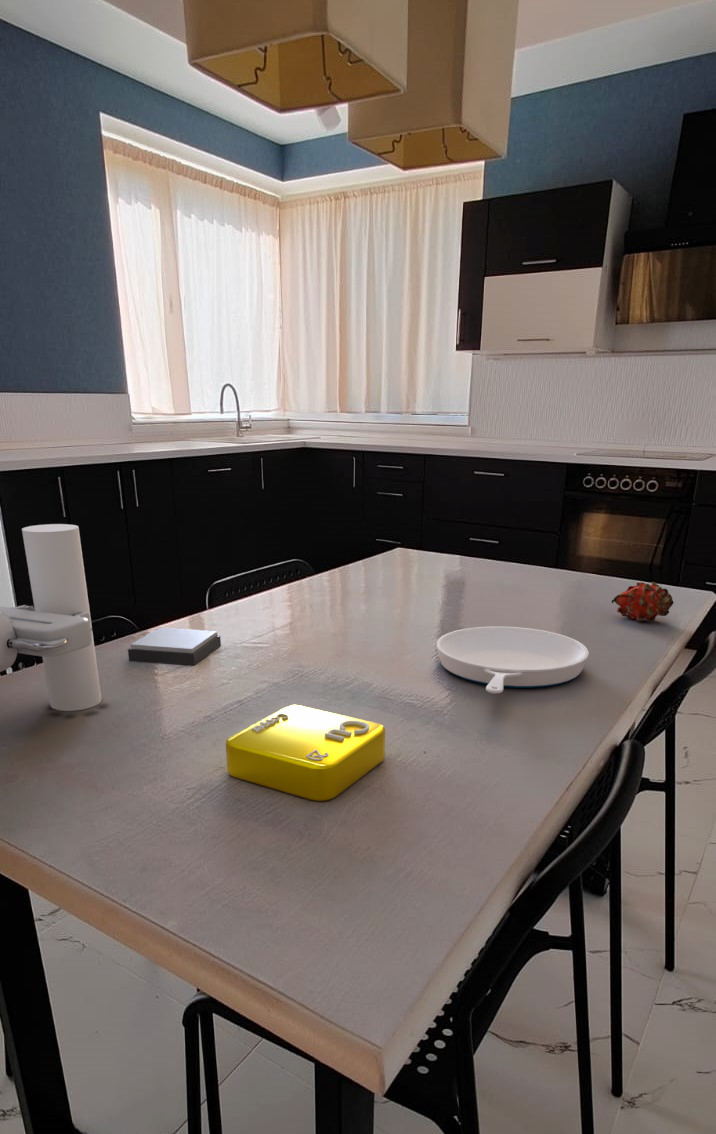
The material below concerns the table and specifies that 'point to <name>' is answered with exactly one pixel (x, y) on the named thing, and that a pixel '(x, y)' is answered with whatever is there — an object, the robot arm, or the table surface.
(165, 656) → the scale
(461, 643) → the pan
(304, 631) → the table surface
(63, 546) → the cylindrical container
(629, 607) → the dragon fruit
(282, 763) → the element tile
